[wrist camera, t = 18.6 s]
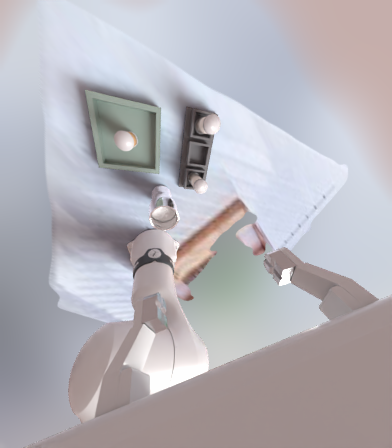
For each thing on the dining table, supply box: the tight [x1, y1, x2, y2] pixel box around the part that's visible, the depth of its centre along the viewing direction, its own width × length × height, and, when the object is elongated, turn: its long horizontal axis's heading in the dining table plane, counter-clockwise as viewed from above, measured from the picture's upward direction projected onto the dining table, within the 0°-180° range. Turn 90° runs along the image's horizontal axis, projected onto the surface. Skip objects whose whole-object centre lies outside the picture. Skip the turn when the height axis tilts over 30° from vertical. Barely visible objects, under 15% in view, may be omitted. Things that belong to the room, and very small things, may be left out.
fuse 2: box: [188, 172, 208, 194], centre depth 39 cm, size 3×3×9 cm
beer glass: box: [149, 186, 179, 231], centre depth 38 cm, size 7×7×15 cm
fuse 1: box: [194, 114, 221, 135], centre depth 32 cm, size 3×3×9 cm
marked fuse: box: [114, 131, 138, 151], centre depth 30 cm, size 3×3×9 cm
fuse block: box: [179, 107, 218, 189], centre depth 38 cm, size 19×8×4 cm, turn 171°
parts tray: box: [85, 90, 161, 174], centre depth 33 cm, size 14×14×3 cm
